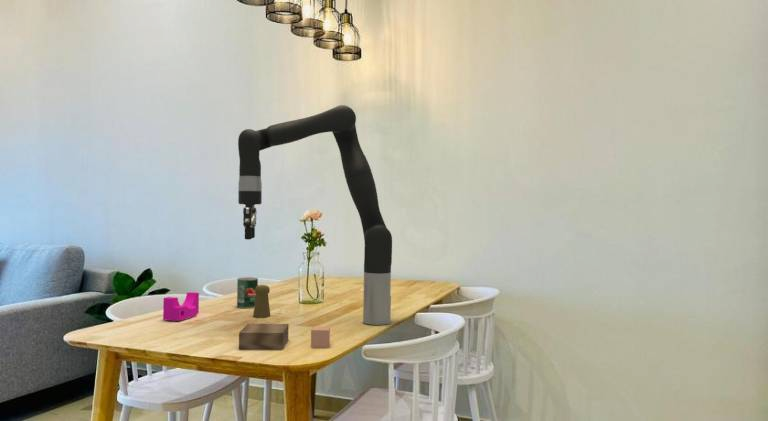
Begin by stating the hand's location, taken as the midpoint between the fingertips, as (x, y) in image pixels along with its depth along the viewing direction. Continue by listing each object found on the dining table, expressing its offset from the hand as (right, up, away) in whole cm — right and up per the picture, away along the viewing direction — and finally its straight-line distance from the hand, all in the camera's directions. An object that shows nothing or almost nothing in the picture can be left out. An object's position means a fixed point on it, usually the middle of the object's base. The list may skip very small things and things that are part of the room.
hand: (249, 238), depth 185 cm
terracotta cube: (+27, -29, -27) cm, 48 cm away
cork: (+1, -29, +15) cm, 33 cm away
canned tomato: (-9, -29, +34) cm, 45 cm away
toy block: (-26, -29, +13) cm, 41 cm away
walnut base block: (+11, -29, -26) cm, 41 cm away
